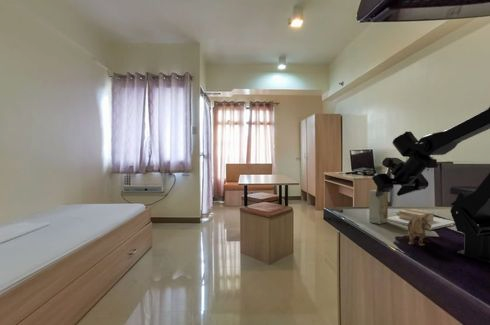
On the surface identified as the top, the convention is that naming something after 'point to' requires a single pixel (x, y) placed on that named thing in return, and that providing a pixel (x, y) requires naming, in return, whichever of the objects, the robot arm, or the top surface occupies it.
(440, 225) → the build plate
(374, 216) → the skincare box
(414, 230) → the lion figurine
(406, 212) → the oak pedestal
